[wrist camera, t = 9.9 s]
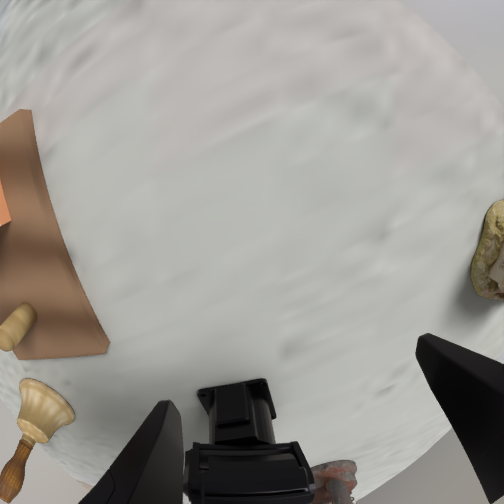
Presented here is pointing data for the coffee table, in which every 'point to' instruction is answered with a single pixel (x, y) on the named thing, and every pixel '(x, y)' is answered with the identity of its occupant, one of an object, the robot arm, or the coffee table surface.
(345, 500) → the lantern
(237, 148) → the coffee table surface
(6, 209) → the sleeve
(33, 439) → the hand bell
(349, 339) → the coffee table surface
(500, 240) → the ceramic model
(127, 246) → the coffee table surface
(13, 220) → the pin board
